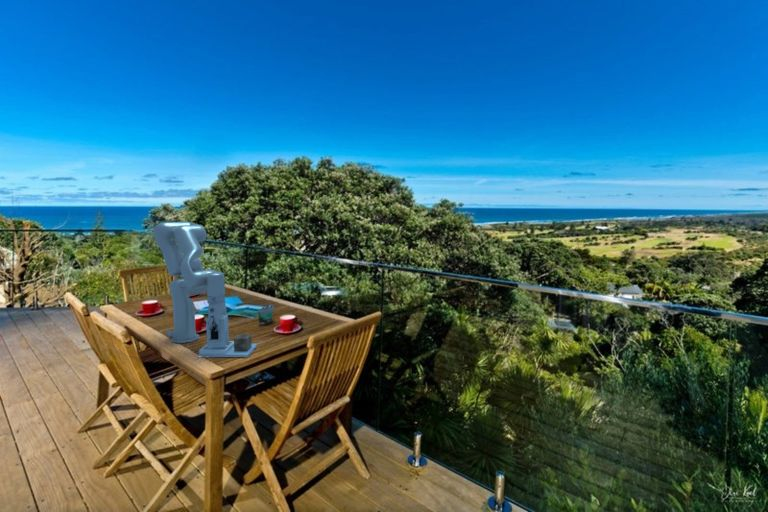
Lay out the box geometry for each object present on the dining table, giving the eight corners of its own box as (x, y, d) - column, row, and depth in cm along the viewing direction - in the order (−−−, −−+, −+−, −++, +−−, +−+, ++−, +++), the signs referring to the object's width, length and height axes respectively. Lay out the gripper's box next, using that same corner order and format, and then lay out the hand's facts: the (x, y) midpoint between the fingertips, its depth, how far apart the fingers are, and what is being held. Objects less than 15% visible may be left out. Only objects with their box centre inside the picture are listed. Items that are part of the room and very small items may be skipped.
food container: (267, 327, 217) (267, 309, 216) (257, 326, 218) (257, 309, 217) (278, 320, 229) (277, 304, 228) (268, 319, 230) (268, 303, 229)
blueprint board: (198, 357, 173) (198, 350, 172) (211, 346, 187) (211, 340, 186) (247, 357, 173) (247, 351, 173) (257, 346, 187) (257, 340, 187)
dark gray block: (234, 351, 177) (233, 338, 176) (238, 346, 183) (238, 334, 182) (247, 351, 177) (246, 338, 176) (251, 346, 183) (251, 334, 182)
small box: (229, 341, 183) (228, 314, 181) (225, 346, 176) (224, 318, 175) (211, 341, 182) (210, 315, 180) (206, 346, 176) (205, 319, 174)
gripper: (216, 303, 168) (218, 343, 170) (231, 294, 185) (232, 330, 187) (199, 303, 168) (201, 343, 170) (215, 294, 185) (217, 330, 187)
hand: (217, 336), depth 179 cm, fingers closed on small box, 6 cm apart
